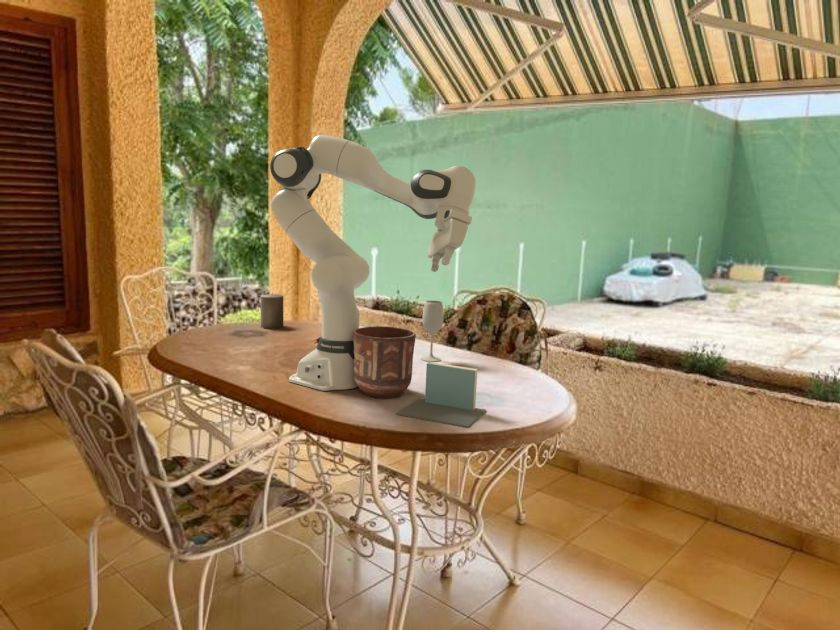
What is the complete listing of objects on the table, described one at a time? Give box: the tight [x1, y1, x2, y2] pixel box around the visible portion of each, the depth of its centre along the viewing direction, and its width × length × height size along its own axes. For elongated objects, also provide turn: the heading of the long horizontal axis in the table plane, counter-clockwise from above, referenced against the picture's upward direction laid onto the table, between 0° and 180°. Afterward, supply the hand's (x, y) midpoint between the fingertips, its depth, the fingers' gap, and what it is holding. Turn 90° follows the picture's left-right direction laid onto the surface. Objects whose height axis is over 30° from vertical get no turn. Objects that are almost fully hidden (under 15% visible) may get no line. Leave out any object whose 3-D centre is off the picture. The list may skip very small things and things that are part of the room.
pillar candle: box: [260, 292, 285, 330], centre depth 268 cm, size 10×10×15 cm
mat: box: [395, 397, 487, 429], centre depth 166 cm, size 20×15×1 cm
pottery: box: [353, 325, 417, 399], centre depth 180 cm, size 18×18×18 cm
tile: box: [424, 362, 479, 410], centre depth 170 cm, size 14×2×11 cm, turn 67°
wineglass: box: [420, 300, 444, 363], centre depth 222 cm, size 8×8×21 cm
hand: (439, 267), depth 173 cm, fingers open, 8 cm apart
